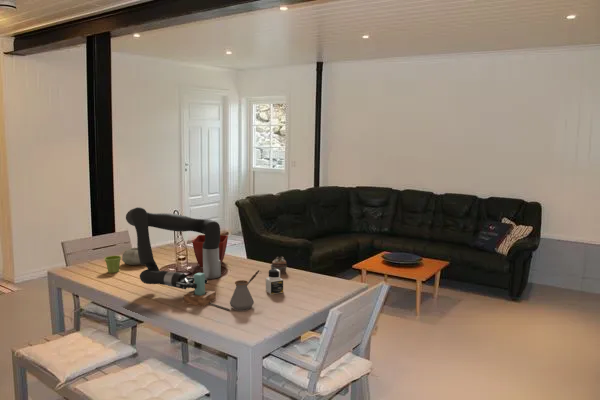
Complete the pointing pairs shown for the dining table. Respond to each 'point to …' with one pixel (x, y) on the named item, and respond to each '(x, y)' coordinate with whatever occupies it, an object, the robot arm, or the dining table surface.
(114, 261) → the plant pot
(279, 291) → the medicine bottle
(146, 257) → the robot arm
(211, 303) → the dark grey rod
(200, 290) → the peg
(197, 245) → the plant pot
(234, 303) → the coffee pot
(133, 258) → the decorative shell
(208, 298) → the brown square slotted piece
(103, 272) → the dining table surface
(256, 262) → the dining table surface
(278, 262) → the cupcake
